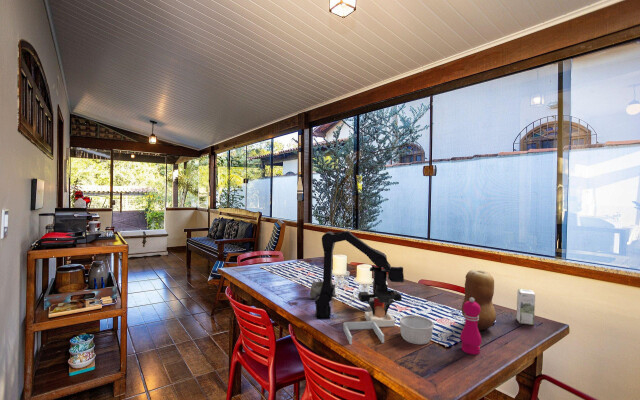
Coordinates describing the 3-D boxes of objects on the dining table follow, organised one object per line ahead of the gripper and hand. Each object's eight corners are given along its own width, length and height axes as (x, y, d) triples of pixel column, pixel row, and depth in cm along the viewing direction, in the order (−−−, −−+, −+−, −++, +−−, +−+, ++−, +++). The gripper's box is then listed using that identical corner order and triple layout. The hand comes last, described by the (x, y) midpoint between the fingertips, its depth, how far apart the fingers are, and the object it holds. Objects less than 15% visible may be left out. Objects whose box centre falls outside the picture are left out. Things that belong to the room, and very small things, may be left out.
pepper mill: (456, 346, 122) (457, 294, 121) (474, 345, 123) (475, 294, 122) (466, 355, 115) (468, 301, 114) (485, 355, 115) (487, 300, 115)
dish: (371, 327, 138) (371, 321, 138) (364, 317, 149) (365, 311, 149) (394, 326, 139) (394, 320, 139) (386, 316, 150) (386, 311, 150)
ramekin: (428, 349, 119) (429, 331, 119) (394, 340, 126) (395, 323, 126) (436, 336, 130) (436, 319, 130) (404, 328, 137) (405, 312, 137)
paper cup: (387, 311, 156) (387, 283, 155) (371, 310, 157) (371, 282, 157) (387, 306, 163) (387, 279, 163) (372, 304, 165) (372, 278, 165)
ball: (372, 315, 146) (372, 304, 146) (382, 315, 147) (383, 304, 146) (375, 319, 141) (375, 308, 141) (386, 319, 142) (386, 308, 141)
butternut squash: (502, 334, 133) (504, 274, 132) (473, 336, 131) (475, 275, 130) (480, 320, 147) (482, 266, 146) (454, 322, 144) (455, 267, 144)
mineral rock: (337, 299, 172) (337, 281, 172) (324, 305, 164) (324, 285, 164) (319, 294, 181) (320, 276, 181) (306, 299, 173) (306, 280, 173)
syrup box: (530, 320, 147) (531, 289, 147) (534, 325, 142) (535, 293, 141) (516, 318, 149) (517, 288, 149) (519, 323, 144) (520, 292, 143)
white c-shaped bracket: (349, 344, 122) (349, 336, 122) (343, 329, 136) (343, 322, 136) (384, 342, 124) (384, 335, 124) (374, 327, 137) (374, 321, 137)
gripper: (364, 286, 134) (363, 323, 135) (406, 285, 136) (405, 321, 137) (358, 279, 145) (357, 313, 146) (397, 278, 148) (396, 311, 148)
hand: (379, 315), depth 144 cm, fingers closed on ball, 5 cm apart
